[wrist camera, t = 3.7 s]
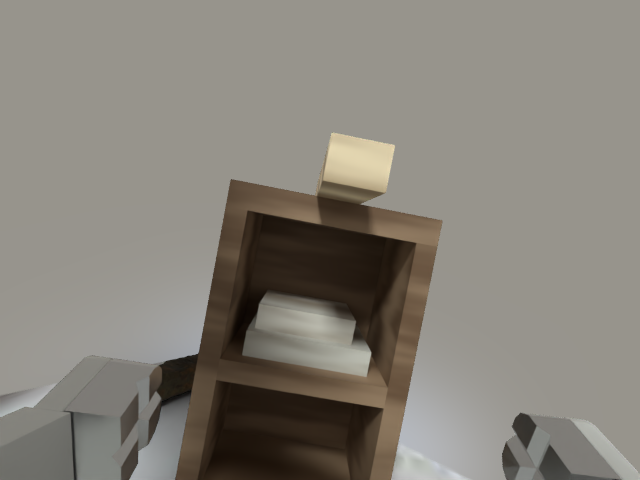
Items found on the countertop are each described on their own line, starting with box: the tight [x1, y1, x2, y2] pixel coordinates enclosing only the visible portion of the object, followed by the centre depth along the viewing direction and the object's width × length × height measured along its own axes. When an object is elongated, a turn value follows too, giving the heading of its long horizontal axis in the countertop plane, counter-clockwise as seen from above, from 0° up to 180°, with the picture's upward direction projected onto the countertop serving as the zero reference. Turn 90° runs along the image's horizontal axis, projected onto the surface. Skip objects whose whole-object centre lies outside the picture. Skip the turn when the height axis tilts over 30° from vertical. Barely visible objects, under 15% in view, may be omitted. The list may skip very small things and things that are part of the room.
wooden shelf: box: [175, 179, 442, 480], centre depth 34 cm, size 12×16×26 cm
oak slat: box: [315, 133, 395, 204], centre depth 28 cm, size 20×3×2 cm, turn 2°
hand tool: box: [156, 353, 199, 401], centre depth 42 cm, size 23×5×6 cm, turn 150°
